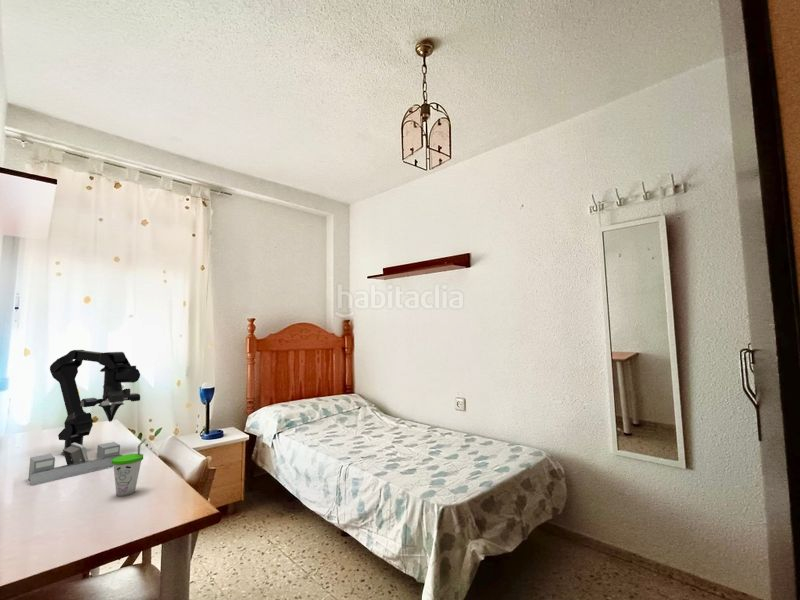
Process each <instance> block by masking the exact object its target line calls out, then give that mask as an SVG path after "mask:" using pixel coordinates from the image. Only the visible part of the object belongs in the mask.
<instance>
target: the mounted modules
mask: <svg viewBox="0 0 800 600" xmlns="http://www.w3.org/2000/svg"><path fill="white" fill-rule="evenodd" d="M120 450H121V444H119V443H118V442H115V441H111V442H106V443H100V444H97V449H96V459H98V458H106V457H110V456H115V455H119V454H121V451H120ZM55 461H56V457H55V456H54V455H53V454H51V453H47V454H41V455H35V456H30V458H29V468H28V469H29V470H28V477H27V478H28V479H27V480H28V481H29V480H30V481H31V475H30V474H31V472H33V473H34V472H39V471H44V470H48V469H53V468H55V464H56V463H55ZM30 481H29V482H30Z"/></svg>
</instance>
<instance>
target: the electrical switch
mask: <svg viewBox="0 0 800 600" xmlns="http://www.w3.org/2000/svg"><path fill="white" fill-rule="evenodd" d="M71 445H72V446H70V447H68V448H66V449H64V448H63V449H62V452H63V453H64V455H63V456H64V459H65V462H66V465H69V464H74V463H79V462H84V461H89V460H90V459H89V457H88V454H87V450H86V448H85V445H84V444H83V445H80V444H77V443H72V444H71Z"/></svg>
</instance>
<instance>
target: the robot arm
mask: <svg viewBox="0 0 800 600" xmlns="http://www.w3.org/2000/svg"><path fill="white" fill-rule="evenodd" d="M83 361H87V362H95V363H98V364H99V365H100V366H104V367H103V368H101V369H100V370H99V371H100V372H102V373H104V376H103V386H102V388H103V391H102V392H103V393H102V398H96V397H87V398H86V397H85V398H82V399H81V397H80V393H79V389H78V385H77V382H76V377H77V375H78V372H79V367H81V366H82V364H83ZM49 371H50V373H51V377H52V378H53V379H54V380H55V381H57V382H58V383H59V385H60V389H61V390H60V391H61V394H62V398H63V401H64V407H65V410H66V413H67V415H66V419H65V421H64V428H63V429H62V430H61V431H60V432H59V433H58V435H57V436H58V440H59V441H64V445H63V446H64V447H63V449H66V448H68V447H70V446H72V445H71V444H72V443H77V444H80V445H83V446H84V437H85V436H89V435H90V433H91V431H92V428H93V426H94V424H93V422H94V420H93V418H92V413H91V412H86V411H85V410H84V408H88V407H89V408H90V407H95V406H96V405H98V407H100V408H102V410H103V411H104V413H105V416H106V418H107V420H108V422H109V423H110V422H113V420H114V417H115V415H116V413H117V411H118V409H119V408H120V407H121V406H122V405H125V403H124V402H125V401H129V402H130V401H131V402H138V401H141V395H140V393H136V392H132V393H131V389H130V388H124V389H123V385H122V384H123V383H130V384H131V383H136V382H138V381H139V379H140V378H141V373H140V370H139V369H137V365H131V363H130V362H129V360H128V357H127V356H126V354H125V352H123V351H112V352H111V351H109V352H100V351H92V350H84V349H73V350H70V351H69V352H68V353H66V354H65V355H63V356H60V357H59V358H57V359H56V360H55V361H53V363H52V364H51V365H49ZM60 454H61V455H62V456H64V453H63V451H61V452H60Z"/></svg>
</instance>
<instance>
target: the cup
mask: <svg viewBox="0 0 800 600" xmlns="http://www.w3.org/2000/svg"><path fill="white" fill-rule="evenodd" d="M146 440H147V439H146V438H144V439H143V440H142V441H141V442H140V443H139V444H138V446H137V453H128V454H122V456H119V457H116V458H114V459H112V464H113V465H114V467H113V472H114V473H113V474H114V484H115V495H116V497H127V496H130V495H132V494H135V492H136V488H137V484H138V481H139V480H138V479H139V474H140V469H141V468H140V467H141V465H142V460H144V453H141V445H143V443H144V442H146Z"/></svg>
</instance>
